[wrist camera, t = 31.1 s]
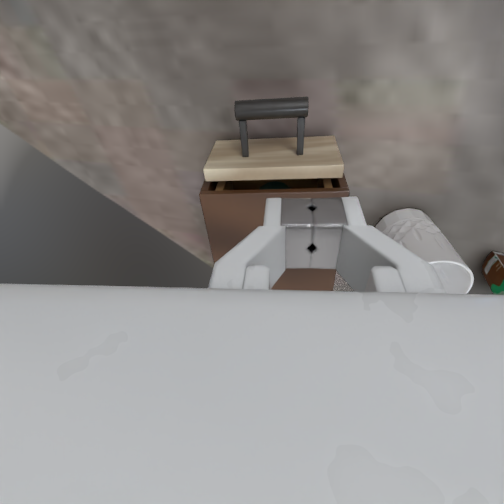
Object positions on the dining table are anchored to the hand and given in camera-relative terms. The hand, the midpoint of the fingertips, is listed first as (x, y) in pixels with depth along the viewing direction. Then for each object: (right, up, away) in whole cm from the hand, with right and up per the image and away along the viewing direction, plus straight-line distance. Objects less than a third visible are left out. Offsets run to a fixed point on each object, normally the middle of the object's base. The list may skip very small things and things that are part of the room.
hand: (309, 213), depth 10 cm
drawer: (+1, +8, +23) cm, 24 cm away
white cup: (+17, +2, +27) cm, 32 cm away
